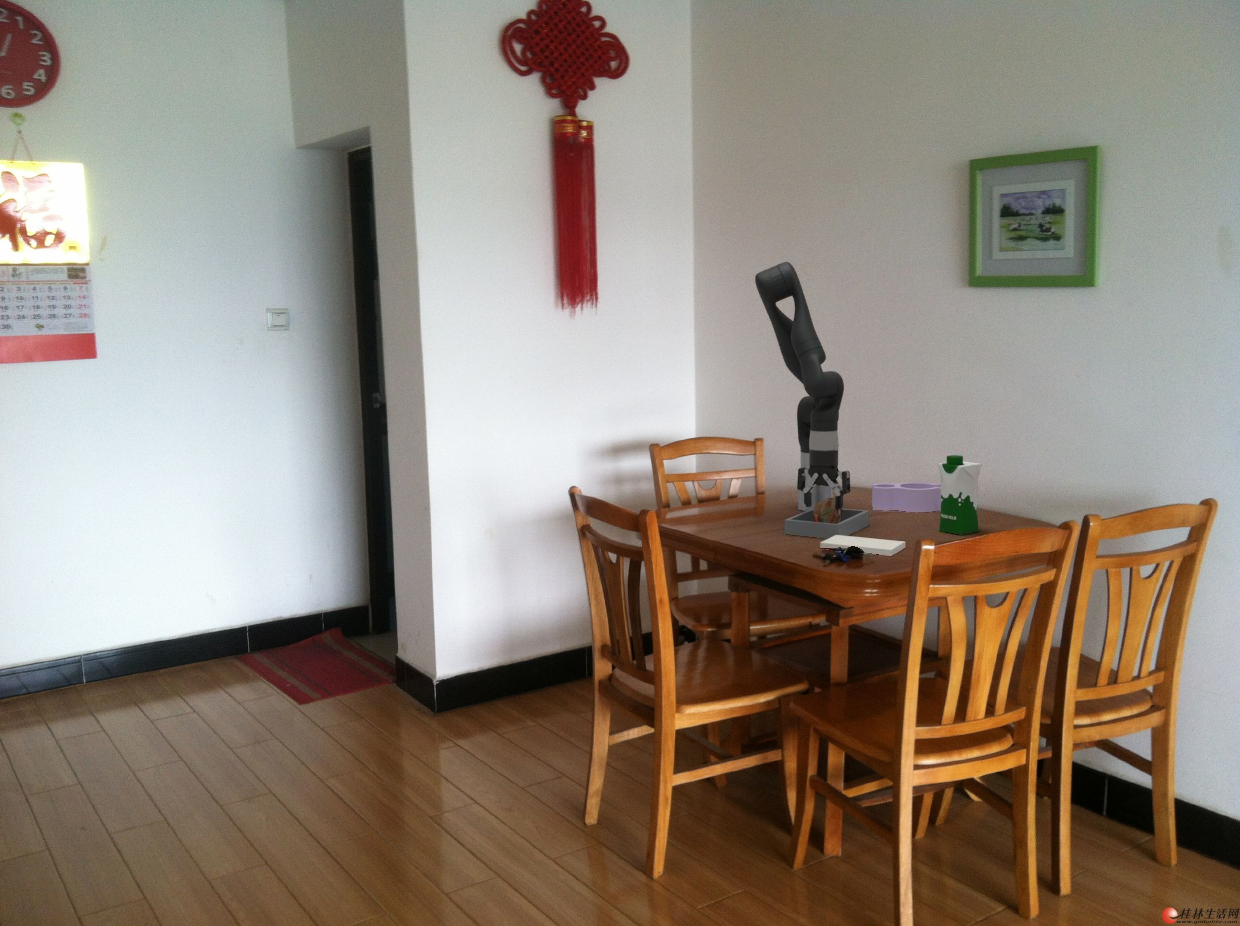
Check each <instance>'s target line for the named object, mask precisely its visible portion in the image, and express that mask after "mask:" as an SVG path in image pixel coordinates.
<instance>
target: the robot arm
mask: <svg viewBox="0 0 1240 926" xmlns="http://www.w3.org/2000/svg"><path fill="white" fill-rule="evenodd" d="M754 280H755V281H754V282H755V285H756V287H755V288H756V289H757V292H758V294H759V297H760V300H761V301H762V304H763V306H764V309H765V311H766V314H767V315H768V318H769V321H770V324H771V326H772V328H773V331H774V336H775V337H776V338H775V339H776V340H777V344H778V347H779V350H780V353H781V356H782V359H783V361H784V365H785V366H786V367H787V369H788V371H790V373H791V375H793V376H794V377H795V378H796V379H797V380H798V381H799V382H800V383H801V384H802V385H803V389H804V390H805V392H806V394H807V396H804V397H802V398H801V399H800V400H799V402H798V405H797V409H796V421H797V423H796V424H797V439H798V444H799V447H800V467H799V468H798V469H797V484H796V489H797V510H799V511H802V512H805V511H808V510H810V509H812V508H814V507H815V505H816V504H817V503H818V502H821V501H823V500H825V499H827V498H835V510H840V509H841V508H842V509H843V507H844V495H847V494H849V493H851V472H850V471H849V470H842V471H841V470H840V471H839V447H840V443H839V433H838V427H839V425H838V424H839V423H838V422H839V420H840V418H839V417H840V408H841V404H842V400H843V397H844V392H845V390H844V389H845V385H844V383H845V382H844V380H843V377H842V375H841V374H840V373H839V372H837V371H835V370H834V371H833V370H827V371H824V370H823V368H822V364H824V363H825V361H826V360H827V354H826V352H825V350H824V347H823V345H822V343H821V341H820V338H819V336H818V334H817V332H816V329H815V326H814V323H813V319H812V316H811V313H810V309H809V307H808V306H809V305H808V303H807V299H806V296H805V293H804V290H803V287H802V284H801V281H800V278H799V276H798V273H797V271H796V269H795V268H794V266H793V264H792V263H791V262H789V261H784V262H781V263H778V264H776V265H774V266H773V265H772V266H771V267H768V268H766V269H764V270H762V271H759V272H758V273H756V274H755V276H754ZM790 297H792V298H793V299H792V300H793V304H794V313H793V319H791V318H789V316H787V315H786V314H785V313H784V312H782V310H781V309H780V308H779V307H778V305H777V303H779V302H781V301H783V300H785V299H788V298H790ZM838 478H840V479H841V483H840V482H839V481H838ZM833 493H835V497H833V496H834V495H833Z"/></svg>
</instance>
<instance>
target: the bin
mask: <svg viewBox="0 0 1240 926" xmlns="http://www.w3.org/2000/svg"><path fill="white" fill-rule="evenodd" d="M813 511H814V508H812V509H810V510H808V511H802V512H801V513H798V514H795V515H794V516H791V517H789V518H786V519H784V535H785V534H792V535H800V536H809V537H808V538H810V537H817V538H816V539H820V538H824V539H823V540H827V539H829V538H831V537H833V536H835V535H843V536H850V534H851V535H852V533H853V534H855V533H857V532H858V531H861V530H863V529H865V528H867V527H868V525H869V526H870V511H869V510H864V509H863V510H862V509H850V508H842V520H841V522H840V523H838V524H832V523H821V522H814V516H813ZM854 532H855V533H854ZM800 536H799V537H800Z"/></svg>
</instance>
